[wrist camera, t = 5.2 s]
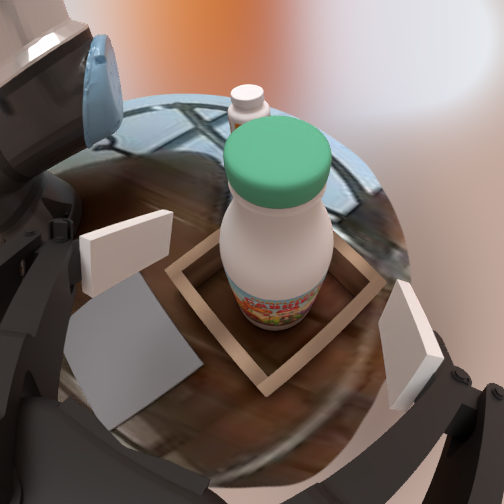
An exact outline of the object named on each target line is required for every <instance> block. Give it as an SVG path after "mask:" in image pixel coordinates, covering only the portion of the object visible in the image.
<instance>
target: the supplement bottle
mask: <svg viewBox="0 0 504 504" xmlns="http://www.w3.org/2000/svg"><path fill="white" fill-rule="evenodd" d="M231 102H232V104H231V105H230V106H229V108H228V118H229V124H230V130H231V133H232V132H233V131H234V130H235V129H237V128H238V127H239V126H241V125H243V124H244V123H246V122H249V121H251V120H254V119H257V118H261V117H266V116H270V107H269V105H268V103H267V102H266V101H264V91H263V89H262V88H261V87H259V86H257V85H250V84H249V85H241V86H238V87H236V88H234V89H233V90H232V91H231Z"/></svg>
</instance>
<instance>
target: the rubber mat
mask: <svg viewBox="0 0 504 504" xmlns="http://www.w3.org/2000/svg"><path fill="white" fill-rule="evenodd" d="M63 352H64V354H65V356H66V359H67V361H68V363H69V365H70V367H71V369H72V372H73V374H74V376H75V378H76V380H77V382H78V384H79V386H80V388H81V389H82V391H83V393H84V395H85V397H86V399H87V401H88V402H89V404H90V406H91V408H92V409H93V411H94V413H95V415H96V416H97V418H98V419H99V420H100V421H101V423H102V424H103V425H104V426H105V427H106V428H107V429H108V430H109V432H110V431H111V430H113V429H114V428H116V427H117V426H119V425H120V424H122V423H123V422H125V421H126V420H128V419H129V418H131V417H132V416H134V415H135V414H137V413H138V412H140V411H141V410H142V409H144V408H145V407H147V406H148V405H150V404H151V403H153V402H154V401H155V400H157V399H158V398H160V397H161V396H162V395H164V394H165V393H167V392H168V391H169V390H171V389H172V388H173V387H175V386H176V385H178V384H179V383H180V382H182V381H183V380H184V379H186V378H187V377H188V376H190V375H191V374H192V373H194V372H195V371H196V370H198V369H199V368H200V367H202V366H203V365H204V363H203V362H202V360H201V359H200V358H199V357H198V355H197V354H196V353H195V351H194V350H193V349H192V347H191V346H190V345H189V343H188V342H187V341H186V339H185V338H184V337H183V335H182V334H181V332H180V331H179V330H178V328H177V327H176V325H175V324H174V323H173V321H172V320H171V318H170V317H169V316H168V314H167V313H166V311H165V310H164V308H163V307H162V305H161V304H160V302H159V301H158V299H157V298H156V296H155V295H154V293H153V292H152V290H151V289H150V287H149V286H148V284H147V283H146V281H145V279H144V278H143V276H142V275H141V273H140V271H139V272H137V273H135V274H133V275H132V276H130V277H128V278H126V279H125V280H123V281H121V282H119V283H118V284H116V285H114V286H112V287H111V288H109V289H107V290H106V291H104V292H102V293H100V294H99V295H97V296H95V297H94V298H92V299H91V300H89V301H88V302H87V303H86V304H85V305H84V306H82V307H81V308H80V309H79V310H78V311H77V312H75V313H74V314H73V315H72V316H71V317H70V320H69V324H68V329H67V334H66V339H65V345H64V351H63Z"/></svg>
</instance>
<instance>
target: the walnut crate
mask: <svg viewBox="0 0 504 504" xmlns="http://www.w3.org/2000/svg"><path fill="white" fill-rule="evenodd" d="M220 229H221V228H219V229H218V230H217V231H215V232H214V233H213V234H211V235H210V236H209V237H207V238H206V239H205V240H203V241H202V242H201V243H199V244H198V245H197V246H195V247H194V248H193V249H191V250H190V251H189V252H187V253H186V254H185V255H183V256H182V257H181V258H179V259H178V260H177V261H175V262H174V263H173V264H171V265H170V266H169V267H168V268H166V269H165V271H166V273H167V274H168V276H169V277H170V279H171V280H172V281H173V283H174V284H175V285H176V287H177V288H178V290H179V291H180V292H181V294H182V295H183V296H184V298H185V299H186V300H187V302H188V303H189V304H190V306H191V307H192V308H193V310H194V311H195V312H196V314H197V315H198V316H199V318H200V319H201V320H202V321H203V323H204V324H205V325H206V327H207V328H208V329H209V330H210V332H211V333H212V334H213V335H214V337H215V338H216V339H217V340H218V342H219V343H220V344H221V345H222V347H223V348H224V349H225V350H226V351H227V353H228V354H229V355H230V356H231V358H232V359H233V360H234V361H235V362H236V363H237V365H238V366H239V367H240V368H241V369H242V371H243V372H244V373H245V374H246V375H247V376H248V377H249V379H250V380H251V381H252V382H253V383H254V384H255V385H256V387H257V388H258V389H259V390H260V391H261V392H262V393H263V394H264V396H265V397H268V396H269V395H270V394H271V393H273V392H274V391H275V390H276V389H278V388H279V387H280V386H281V385H282V384H284V383H285V382H286V381H287V380H288V379H290V378H291V377H292V376H293V375H294V374H295V373H297V372H298V371H299V370H300V369H301V368H302V367H303V366H305V365H306V364H307V363H308V362H309V361H310V360H311V359H312V358H313V357H314V356H316V355H317V354H318V353H319V352H320V351H321V350H322V349H323V348H324V347H325V346H326V345H327V344H328V343H329V342H331V341H332V340H333V339H334V338H335V337H336V336H337V335H338V334H339V333H340V332H341V331H342V330H343V329H344V328H345V327H346V326H347V325H348V324H349V323H350V322H351V321H352V320H353V319H354V318H355V317H356V316H357V315H358V313H359V312H360V311H361V310H362V309H363V308H364V307H365V306H366V305H367V304H368V303H369V302H370V301H371V300H372V299H373V297H374V296H375V295H376V294H377V293H378V292H379V291H380V290H381V289H382V287H383V286H384V285H385V284H386V283H387V281H386V280H385V279H384V278H383V277H382V276H381V275H380V274H378V273H377V272H376V271H375V270H374V269H373V268H372V267H371V266H370V265H369V264H368V263H367V262H366V261H365V260H364V259H363V258H362V257H361V256H360V255H359V254H358V253H357V252H356V251H355V250H354V249H353V248H351V247H350V246H349V245H348V244H347V243H346V242H345V241H344V240H343V239H342V238H341V237H340V236H339V235H337V234H336V233H335V232H334V231H333V239H334V244H333V253H332V258H331V262H330V265H329V268H328V271H329V272H330V273H331V274H332V275H333V276H334V277H335V278H336V279H337V280H338V281H339V282H340V283H341V284H342V285H343V286H344V287H345V288H346V289H347V290H348V291H349V292H350V293H351V294H352V295H353V296H354V297H355V298H354V299H353V300H352V301H351V302H350V303H349V304H348V305H347V306H346V307H345V308H344V309H343V310H342V311H341V312H340V313H339V314H338V315H337V316H336V317H335V318H334V319H333V320H332V321H331V322H330V323H329V324H328V325H327V326H326V327H325V328H324V329H322V330H321V331H320V332H319V333H318V334H317V335H316V336H315V337H314V338H313V339H312V340H311V341H309V342H308V343H307V344H306V345H305V346H304V347H303V348H302V349H301V350H299V351H298V352H297V353H296V354H295V355H294V356H293V357H291V358H290V359H289V360H288V361H287V362H286V363H285V364H283V365H282V366H281V367H280V368H279V369H277V370H276V371H275V372H274V373H273V374H271V375H270V376H269V377H268V376H267V375H266V374H265V373H264V372H263V371H262V370H261V368H260V367H259V366H258V365H257V364H256V363H255V362H254V360H253V359H252V358H251V357H250V356H249V355H248V354H247V352H246V351H245V350H244V349H243V348H242V346H241V345H240V344H239V343H238V342H237V341H236V339H235V338H234V337H233V336H232V335H231V333H230V332H229V331H228V330H227V329H226V327H225V326H224V325H223V324H222V323H221V321H220V320H219V319H218V318H217V316H216V315H215V314H214V313H213V311H212V310H211V309H210V308H209V306H208V305H207V304H206V303H205V301H204V300H203V299H202V298H201V296H200V295H199V294H198V292H197V291H196V290H195V289H196V288H197V287H198V286H200V285H201V284H202V283H204V282H205V281H206V280H207V279H209V278H210V277H211V276H213V275H214V274H215V273H216V272H218V271H219V270H220V269H222V268H223V267H224V266H223V262H222V259H221V254H220V243H219V239H220Z"/></svg>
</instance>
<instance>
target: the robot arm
mask: <svg viewBox="0 0 504 504" xmlns="http://www.w3.org/2000/svg"><path fill="white" fill-rule="evenodd" d="M122 120H123V101H122V92H121V85H120V79H119V74H118V68H117V63H116V58H115V54H114V50H113V47H112V46H111V41H110V39H109V37H108V36H107V35H97V36H95V37H94V38H93V37H92V35H91V32H90V29H89V26H88V24H85V23H81V22H77V21H73V20H71V19H70V18H69V16H68V13H67V10H66V7H65V4H64V1H63V0H0V240H1V242H2V244H3V245H1V246H0V504H227V503H226V502H225V501H224V500H223V499H222V498H220V497H219V496H218V495H217V494H216V493H214V492H213V491H211V490H210V489H208V485H209V482H210V479H208V478H206V477H204V476H201V475H199V474H196V473H194V472H192V471H190V470H187V469H185V468H183V467H181V466H179V465H177V464H175V463H173V462H171V461H168V460H164V459H161V458H157V457H154V456H151V455H147V454H144V453H141V452H138V451H135V450H132V449H129V448H127V447H125V446H123V445H122V444H121V443H120V442H119V441H118V440H117V439H116V438H115V437H114V436H113V435H112V434H111V433H110V432H109V430H108V429H107V428H106V427H105V426H104V425H103V424H102V423H101V421H100V420H99V419H98V418H97V417H96V416H95V415H93V414H92V413H90V412H89V411H88V410H86V409H85V408H84V407H82V406H81V405H80V404H79V403H77V402H76V401H75V400H74V399H72V398H71V397H70V396H69V397H68V398H67V399H66V400H65V401H64V402H63V403H61V402H59V401H58V387H59V378H60V370H61V363H62V357H63V351H64V345H65V339H66V334H67V329H68V324H69V320H70V315H71V311H72V306H73V302H74V298H75V294H76V283H77V282H79V281H81V282H82V292H84V293H85V294H87V295H89V296H90V297H92V298H94V297H95V296H97V295H99V294H100V293H102V292H104V291H106V290H107V289H109V288H111V287H112V286H114V285H116V284H118V283H119V282H121V281H123V280H125V279H126V278H128V277H130V276H132V275H133V274H135V273H137V272H139V271H140V270H142V269H144V268H146V267H148V266H149V265H151V264H153V263H155V262H157V261H158V260H160V259H162V258H164V257H166V256H167V255H169V246H170V237H171V228H172V220H173V212H171V211H167V210H164V209H163V210H159V211H156V212H152V213H149V214H146V215H142V216H139V217H136V218H132V219H129V220H126V221H123V222H120V223H116V224H113V225H110V226H107V227H104V228H101V229H98V230H95V231H92V232H89V233H86V234H83V235H81V236H79V238H78V239H75V240H73V238H74V236H75V234H76V232H77V229H78V227H79V224H80V221H81V216H82V201H81V197H80V196H79V194H78V193H77V192H76V190H75V189H74V188H73V187H72V186H71V185H70V184H69V183H68V182H66V181H64V180H62V179H60V178H58V177H56V176H55V175H53V174H51V173H49V172H47V171H46V170H47V169H49V168H51V167H53V166H54V165H56V164H58V163H60V162H61V161H63V160H65V159H67V158H69V157H70V156H72V155H74V154H76V153H78V152H80V151H82V150H84V149H86V148H91V147H92V146H93V144H95V143H96V142H98V141H100V140H102V139H104V138H106V137H108V136H110V135H112V134H113V133H115V132H116V131H117V130H118V129H119V127H120V125H121V123H122ZM20 266H21V267H22V271H23V273H22V274H21V273H20ZM378 324H379V330H380V336H381V342H382V349H383V355H384V363H385V370H386V378H387V387H388V397H389V408H390V409H393V410H399V411H404V412H406V411H407V410H408V408H409V407H410V406H411V405H412V403H413V402H414V403H415V404H414V405H413V406H412V407H411V408H410V409H409V410H408V411H407V412H406V414H404V415H403V416H402V417H401V418H400V419H399V420H398V421H397V422H396V423H395V424H394V425H393V426H392V427H391V428H390V429H389V430H388V431H387V432H385V433H384V434H383V435H382V436H381V437H380V438H379V439H378V440H377V441H375V442H374V443H373V444H372V445H371V446H370V447H368V448H367V449H366V450H365V451H363V452H362V453H361V454H360V455H358V456H357V457H356V458H355V459H353V460H352V461H351V462H349V463H348V464H347V465H345V466H344V467H343V468H341V469H340V470H338V471H337V472H336V473H334V474H333V475H331V476H330V477H329V478H327V479H326V480H324V481H322V482H321V483H316V484H314V485H312V486H311V487H309V488H307V489H306V490H304V491H302V492H300V493H299V494H297V495H295V496H294V497H292V498H290V499H288V500H286V501H285V502H283V503H281V504H385V503H386V502H387V501H388V500H389V499H390V498H391V497H392V496H393V495H394V494H395V492H397V490H398V489H399V488H400V487H401V486H402V485H403V484H404V483H405V482H406V481H407V480H408V478H409V477H410V476H411V475H412V474H413V473H414V471H415V470H416V469H417V467H418V466H419V465H420V464H421V462H422V461H423V460H424V459H425V458H426V456H427V455H428V454H429V452H430V451H431V450H432V448H433V447H434V445H435V444H436V443H437V441H438V440H439V438H440V437H441V436H442V434H443V433H445V434H447V438H446V441H445V444H444V448H443V451H442V454H441V457H440V460H439V463H438V465H437V468H436V471H435V473H434V476H433V479H432V481H431V484H430V486H429V488H428V491H427V493H426V495H425V498H424V500H423V502H422V504H501V502H502V498H503V493H504V389H503V387H501V386H499V385H497V384H495V383H489V384H488V385H487V386H486V387H485V389H484V390H483V391H480V390H477V389H475V388H473V387H471V385H472V381H471V378H470V376H469V375H468V374H467V373H466V372H465V371H464V370H463V369H461V368H459V367H457V366H454V365H453V363H452V360H451V358H450V355H449V353H448V352H447V349H446V347H445V344H444V342H443V340H442V338H441V337H440V336H439V334H438V333H437V332H436V331H433V330H432V329H431V327H430V324H429V322H428V320H427V318H426V315H425V313H424V311H423V309H422V307H421V305H420V303H419V301H418V299H417V297H416V295H415V293H414V291H413V289H412V287H411V285H410V283H408V282H404V281H401V280H398V279H397V281H396V283H395V286H394V288H393V291H392V293H391V295H390V298H389V300H388V302H387V304H386V307H385V309H384V311H383V313H382V315H381V318H380V320H379V322H378Z"/></svg>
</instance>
